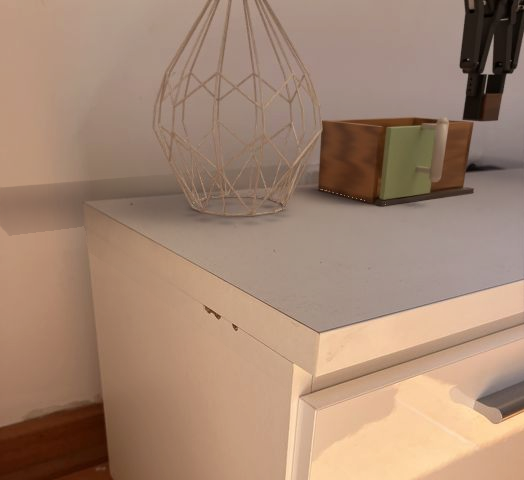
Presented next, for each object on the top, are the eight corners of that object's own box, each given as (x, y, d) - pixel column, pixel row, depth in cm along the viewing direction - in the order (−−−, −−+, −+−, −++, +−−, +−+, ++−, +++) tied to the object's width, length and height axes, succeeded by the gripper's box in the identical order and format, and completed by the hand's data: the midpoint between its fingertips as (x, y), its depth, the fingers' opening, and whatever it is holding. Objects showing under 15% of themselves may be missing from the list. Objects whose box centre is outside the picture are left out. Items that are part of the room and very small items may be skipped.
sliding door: (452, 198, 71) (465, 116, 67) (405, 205, 67) (416, 118, 63) (425, 192, 75) (435, 114, 70) (379, 198, 70) (387, 116, 66)
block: (498, 120, 92) (502, 93, 91) (482, 121, 90) (487, 94, 89) (477, 119, 95) (481, 93, 94) (462, 120, 93) (465, 93, 92)
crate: (473, 192, 79) (485, 123, 75) (381, 206, 70) (390, 127, 66) (406, 179, 88) (413, 116, 84) (317, 190, 79) (321, 120, 75)
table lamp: (195, 239, 55) (173, -362, 37) (115, 198, 72) (74, -229, 54) (369, 214, 66) (415, -259, 48) (264, 184, 83) (270, -175, 65)
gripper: (519, -45, 90) (493, 115, 100) (448, -58, 81) (427, 119, 91) (564, -53, 84) (532, 117, 94) (493, -68, 76) (466, 121, 86)
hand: (480, 118), depth 93 cm, fingers closed on block, 4 cm apart
